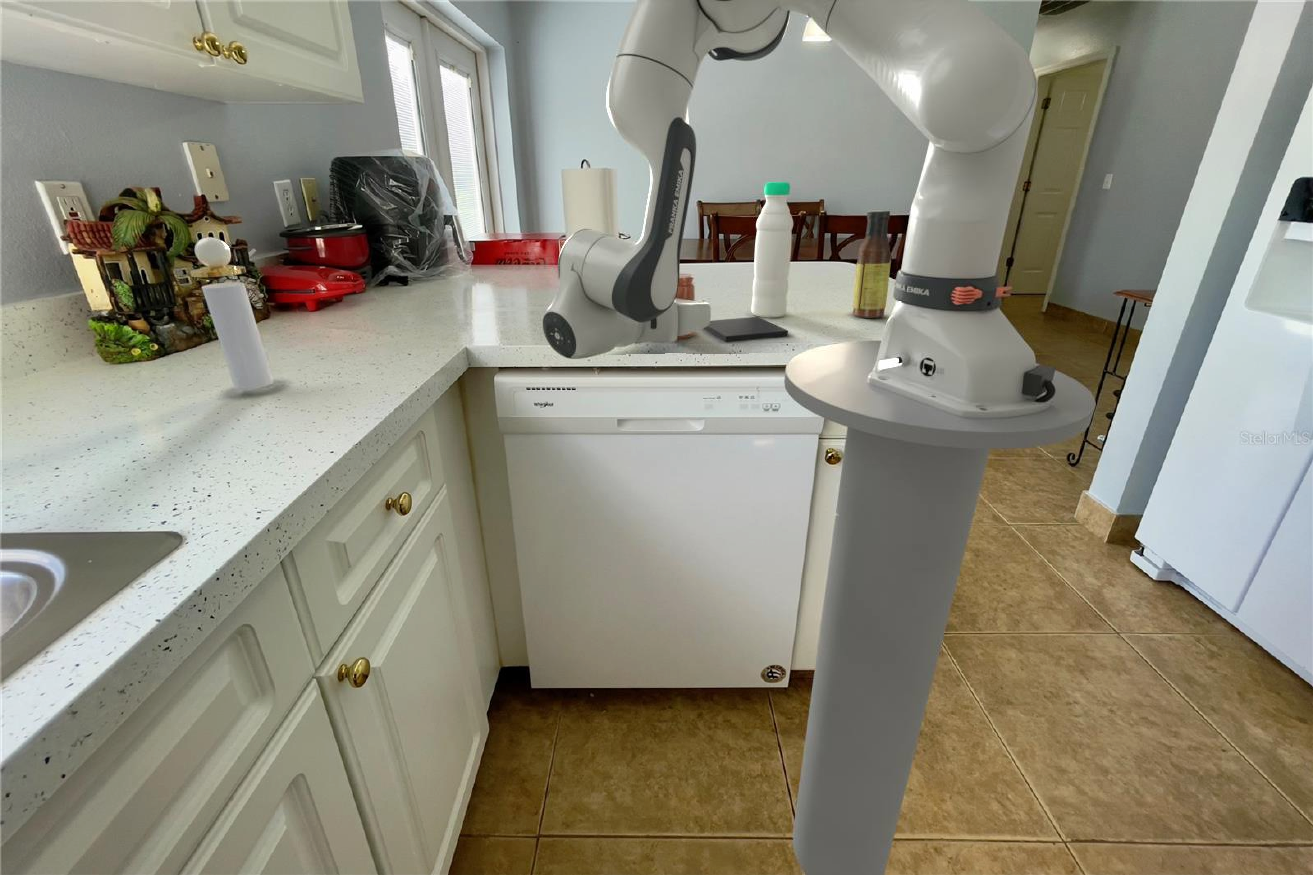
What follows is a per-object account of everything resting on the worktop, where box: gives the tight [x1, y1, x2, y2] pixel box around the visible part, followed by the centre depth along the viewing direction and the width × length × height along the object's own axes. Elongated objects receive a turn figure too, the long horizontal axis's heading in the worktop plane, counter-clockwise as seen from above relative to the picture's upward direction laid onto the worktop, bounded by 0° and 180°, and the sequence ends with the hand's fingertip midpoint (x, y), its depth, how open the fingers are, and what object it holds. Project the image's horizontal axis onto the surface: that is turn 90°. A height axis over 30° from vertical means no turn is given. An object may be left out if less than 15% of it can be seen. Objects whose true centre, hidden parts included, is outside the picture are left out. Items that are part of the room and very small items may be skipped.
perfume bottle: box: [189, 236, 274, 391], centre depth 76 cm, size 6×6×20 cm
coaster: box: [703, 316, 789, 343], centre depth 107 cm, size 12×12×1 cm
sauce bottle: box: [852, 209, 892, 319], centre depth 114 cm, size 7×6×20 cm
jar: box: [676, 272, 696, 339], centre depth 104 cm, size 6×6×10 cm
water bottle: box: [750, 181, 794, 318], centre depth 115 cm, size 7×7×25 cm
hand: (680, 302), depth 104 cm, fingers open, 7 cm apart
